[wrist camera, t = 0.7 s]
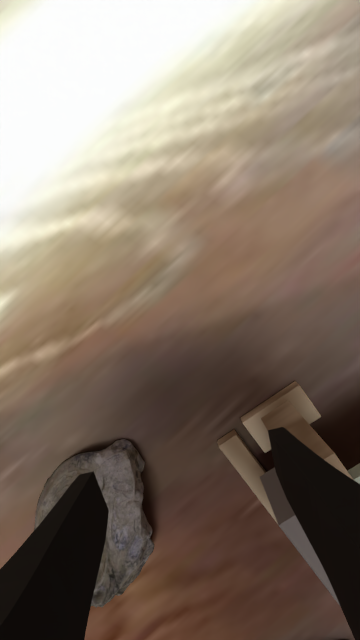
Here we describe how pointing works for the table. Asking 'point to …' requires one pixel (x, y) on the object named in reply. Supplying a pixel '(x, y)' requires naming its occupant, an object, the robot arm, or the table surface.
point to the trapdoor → (297, 522)
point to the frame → (275, 412)
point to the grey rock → (124, 512)
